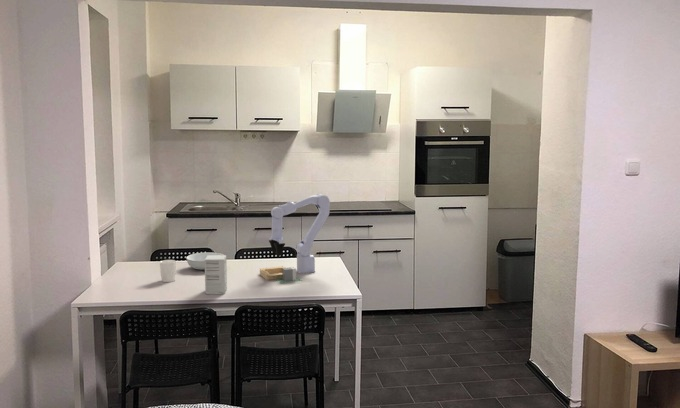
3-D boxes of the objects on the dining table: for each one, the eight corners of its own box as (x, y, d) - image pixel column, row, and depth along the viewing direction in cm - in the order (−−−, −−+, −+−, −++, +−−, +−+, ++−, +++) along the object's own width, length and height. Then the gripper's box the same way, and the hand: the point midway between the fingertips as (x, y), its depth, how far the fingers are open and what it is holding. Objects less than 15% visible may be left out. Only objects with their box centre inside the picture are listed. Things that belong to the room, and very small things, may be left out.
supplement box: (208, 289, 273) (207, 255, 271) (227, 288, 274) (226, 254, 272) (205, 294, 263) (204, 259, 261) (225, 294, 264) (224, 259, 262)
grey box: (293, 278, 291) (293, 266, 291) (296, 280, 288) (295, 268, 287) (282, 279, 289) (282, 268, 288) (284, 281, 285) (284, 269, 285)
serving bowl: (178, 270, 309) (178, 258, 309) (201, 262, 329) (201, 251, 328) (210, 274, 302) (210, 261, 301) (232, 265, 321) (231, 254, 320)
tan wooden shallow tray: (283, 271, 308) (283, 265, 307) (294, 278, 292) (294, 272, 292) (258, 274, 302) (258, 268, 301) (268, 281, 286) (268, 275, 286)
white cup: (179, 279, 291) (178, 260, 290) (170, 283, 283) (169, 263, 282) (166, 278, 293) (165, 259, 292) (157, 281, 286) (156, 262, 285)
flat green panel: (296, 277, 295) (296, 276, 295) (302, 281, 287) (302, 280, 287) (274, 279, 290) (274, 279, 290) (280, 284, 282) (280, 283, 282)
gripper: (265, 227, 305) (265, 252, 307) (274, 232, 292) (273, 257, 294) (278, 227, 308) (277, 251, 310) (286, 231, 295) (286, 256, 297)
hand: (276, 254), depth 302 cm, fingers open, 7 cm apart
